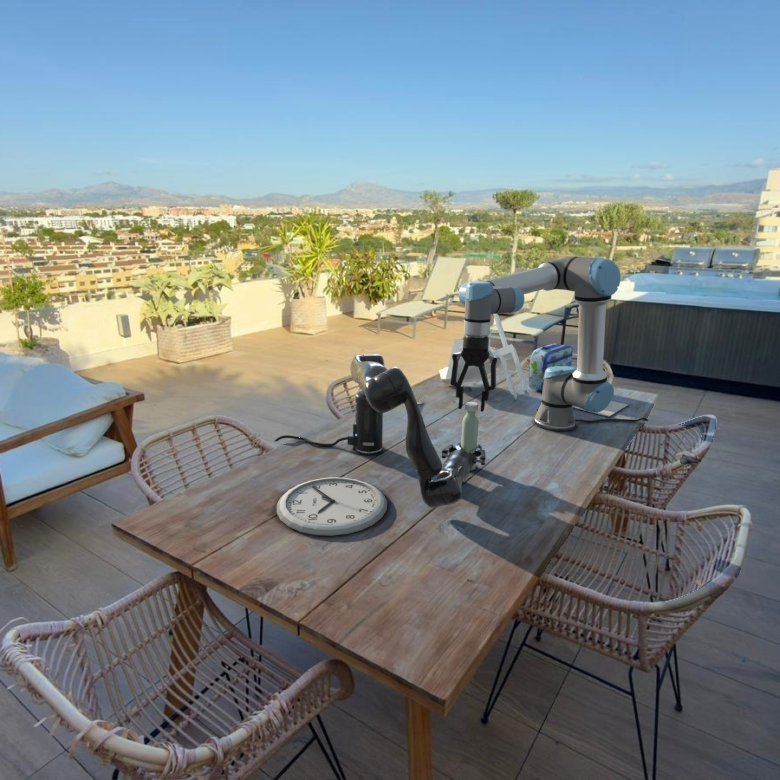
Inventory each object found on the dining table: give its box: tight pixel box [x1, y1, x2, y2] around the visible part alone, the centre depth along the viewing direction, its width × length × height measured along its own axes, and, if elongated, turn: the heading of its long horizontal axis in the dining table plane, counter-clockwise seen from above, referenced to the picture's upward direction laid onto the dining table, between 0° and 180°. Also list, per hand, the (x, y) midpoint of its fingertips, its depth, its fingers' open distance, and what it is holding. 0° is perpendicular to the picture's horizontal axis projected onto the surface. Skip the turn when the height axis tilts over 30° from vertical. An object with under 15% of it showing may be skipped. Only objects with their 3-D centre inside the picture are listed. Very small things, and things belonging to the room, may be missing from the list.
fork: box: [417, 395, 425, 405], centre depth 222 cm, size 3×16×2 cm, turn 160°
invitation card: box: [573, 400, 629, 418], centre depth 226 cm, size 21×1×15 cm
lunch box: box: [528, 343, 574, 392], centre depth 249 cm, size 26×11×21 cm, turn 134°
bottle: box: [460, 410, 480, 471], centre depth 164 cm, size 5×5×21 cm
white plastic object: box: [438, 313, 531, 400], centre depth 245 cm, size 37×45×31 cm
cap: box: [464, 401, 479, 412], centre depth 161 cm, size 4×4×2 cm
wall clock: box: [276, 476, 388, 537], centre depth 142 cm, size 30×2×30 cm
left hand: (470, 445), depth 167 cm, fingers closed on bottle, 5 cm apart
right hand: (471, 408), depth 161 cm, fingers open, 6 cm apart
